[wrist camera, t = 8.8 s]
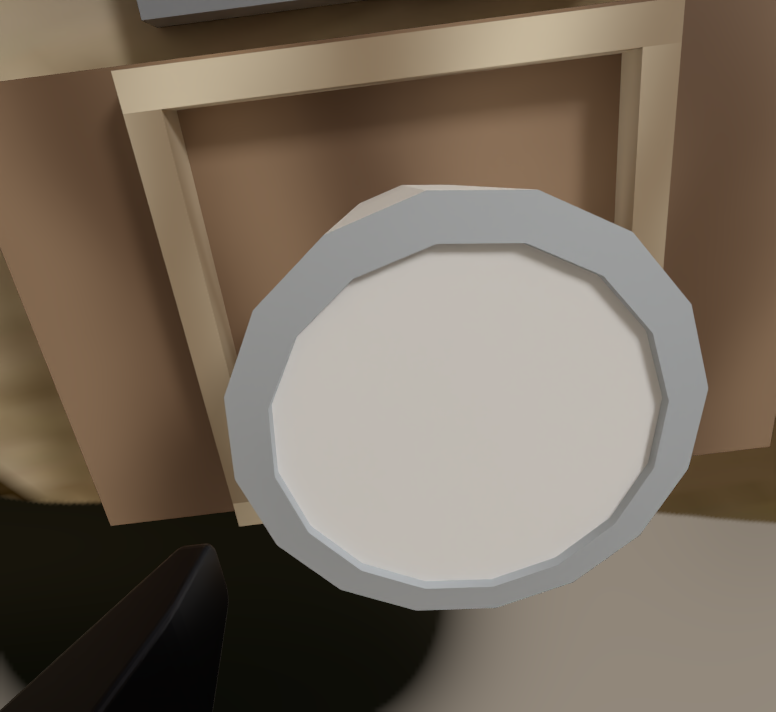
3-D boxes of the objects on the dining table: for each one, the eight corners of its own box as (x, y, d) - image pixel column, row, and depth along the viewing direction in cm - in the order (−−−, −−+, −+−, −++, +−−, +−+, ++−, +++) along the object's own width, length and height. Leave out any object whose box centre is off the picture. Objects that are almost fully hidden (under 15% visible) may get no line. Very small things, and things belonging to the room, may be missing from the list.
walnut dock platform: (718, 13, 16) (900, -43, 11) (681, 375, 21) (793, 465, 15) (56, 99, 17) (-99, 86, 11) (166, 438, 21) (96, 549, 16)
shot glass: (385, 453, 16) (400, 676, 10) (231, 262, 14) (112, 385, 7) (597, 328, 15) (779, 486, 8) (468, 91, 12) (580, 55, 6)
